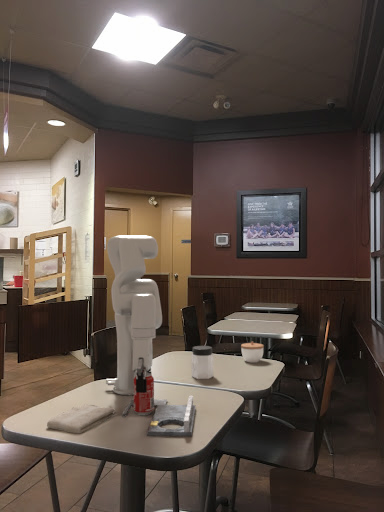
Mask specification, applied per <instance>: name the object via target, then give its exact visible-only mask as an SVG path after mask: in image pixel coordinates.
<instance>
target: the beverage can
mask: <svg viewBox="0 0 384 512" xmlns="http://www.w3.org/2000/svg"><path fill="white" fill-rule="evenodd" d="M143 375H144V372H143ZM146 379H147V392H146V393H137V392H136V376H135V378H134V395H133V399H134V407H133V411H134V412H135V413H136V414H137V415H139V416H149V415H150V414H152V412H153V411H154V410H155V407H154V399H155V379H154V376H153V375H152V372H151V373H148V372H146Z"/></svg>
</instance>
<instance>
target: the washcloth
mask: <svg viewBox="0 0 384 512" xmlns="http://www.w3.org/2000/svg"><path fill="white" fill-rule="evenodd" d="M114 412H115V409H114V408H113V407H101V406H98V405H96V404H86V403H85V404H83V405H80V406H74V407H72V408H69V410H67V411H64V412H62V413H61V412H60V413H59V414H58V415H56V416H54V417H51V418H50V419H49V420H48V421H47V422H46V426H47V427H48V428H49V429H53V430H60V431H65V432H67V433H68V432H69V433H74V434H81V433H84V432H85V431H87V430H89V429H90V428H93V427H95V426H96V425H98V424H100V423H102V422H104V421H105V420H106V421H107V419H110V418H111V417H115V413H114Z"/></svg>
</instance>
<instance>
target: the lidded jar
mask: <svg viewBox="0 0 384 512" xmlns="http://www.w3.org/2000/svg"><path fill="white" fill-rule="evenodd" d="M264 347H265V345H264V344H262V343H257V342H254V341H251V342H248V343H247V342H246V343H242V344H241V345H240V349H241V354H242V355H241V356H242V357H243V359H244V360H245V362H247V363H253V364H254V363H259V362H260V361H261V359H262V358H263V355H264Z"/></svg>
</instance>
